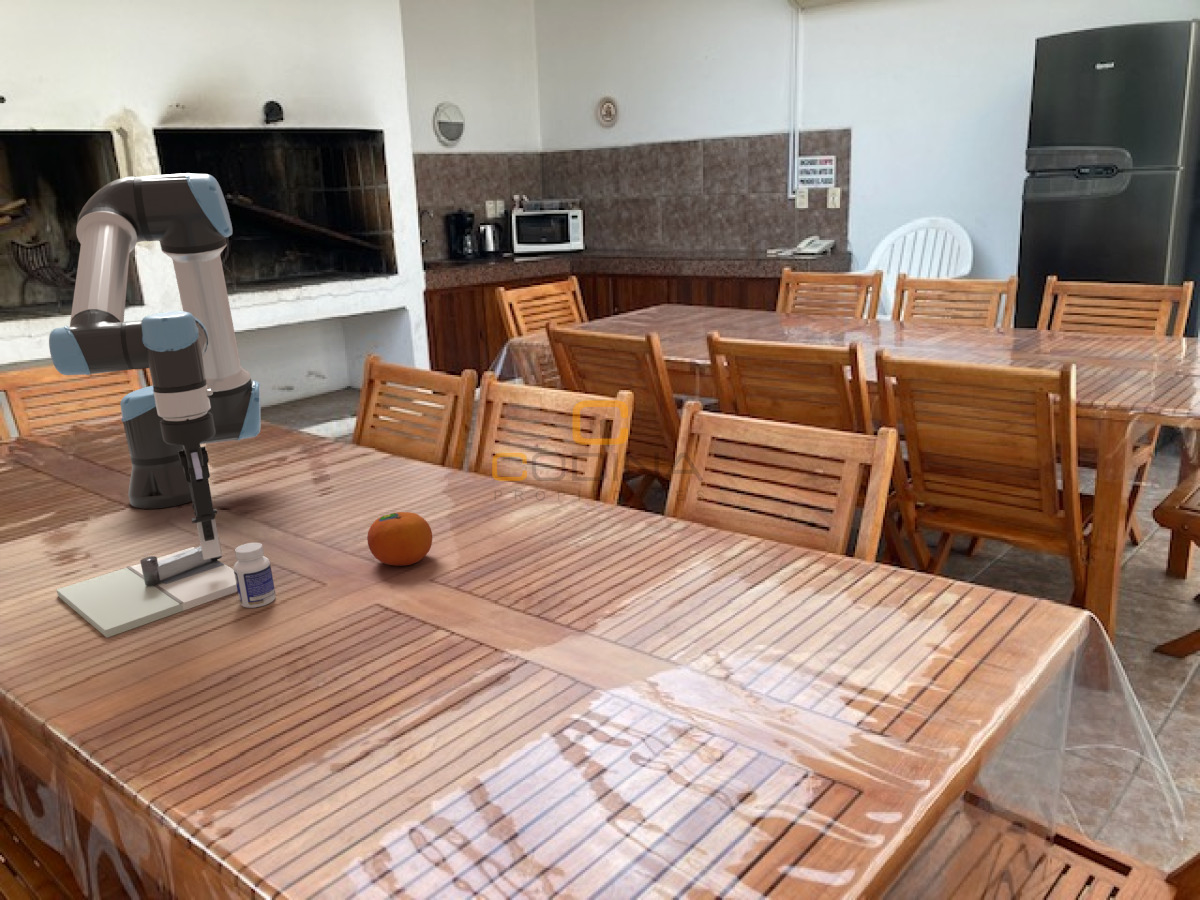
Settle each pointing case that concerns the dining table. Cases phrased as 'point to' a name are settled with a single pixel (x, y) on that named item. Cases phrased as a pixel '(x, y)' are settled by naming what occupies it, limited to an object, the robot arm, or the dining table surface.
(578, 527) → the dining table surface
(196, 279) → the robot arm
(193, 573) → the door board
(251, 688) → the dining table surface
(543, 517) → the dining table surface
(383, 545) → the fruit
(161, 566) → the swing bar
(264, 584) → the pill bottle
